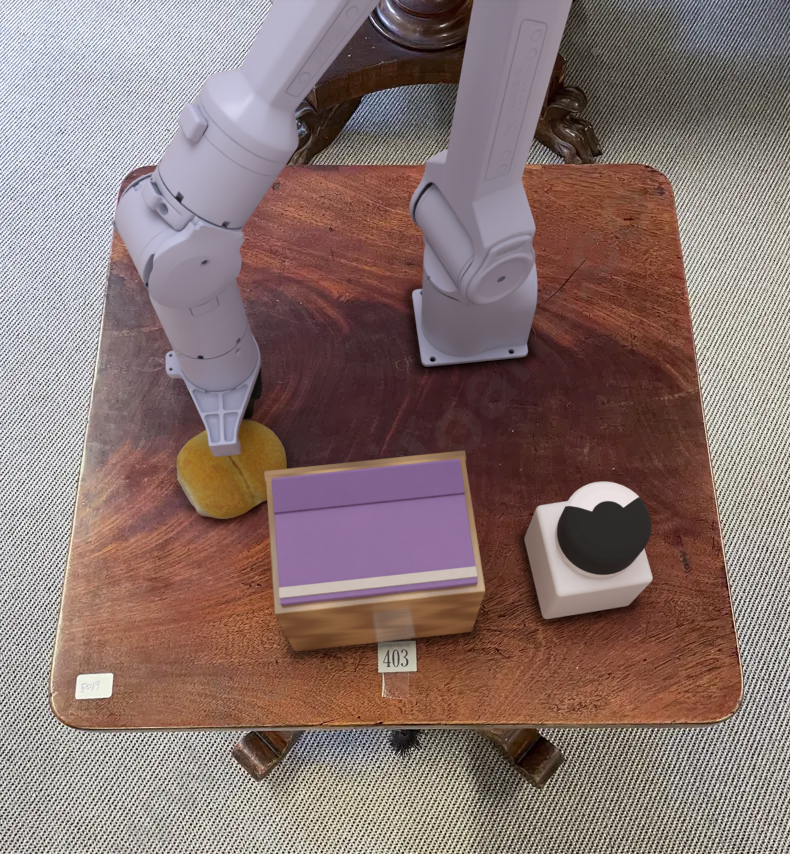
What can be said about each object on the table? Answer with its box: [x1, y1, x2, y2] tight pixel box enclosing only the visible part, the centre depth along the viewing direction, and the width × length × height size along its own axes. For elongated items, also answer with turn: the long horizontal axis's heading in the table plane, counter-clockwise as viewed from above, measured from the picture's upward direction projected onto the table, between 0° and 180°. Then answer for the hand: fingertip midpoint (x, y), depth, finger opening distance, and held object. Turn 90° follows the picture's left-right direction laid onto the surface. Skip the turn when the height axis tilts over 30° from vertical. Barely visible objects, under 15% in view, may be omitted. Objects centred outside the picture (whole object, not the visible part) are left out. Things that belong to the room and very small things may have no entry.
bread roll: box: [176, 419, 288, 520], centre depth 71 cm, size 8×9×4 cm
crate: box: [264, 450, 486, 652], centre depth 64 cm, size 14×10×12 cm
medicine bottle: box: [524, 481, 654, 620], centre depth 64 cm, size 7×7×12 cm
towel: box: [272, 459, 478, 606], centre depth 58 cm, size 13×9×1 cm
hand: (240, 415), depth 73 cm, fingers closed
